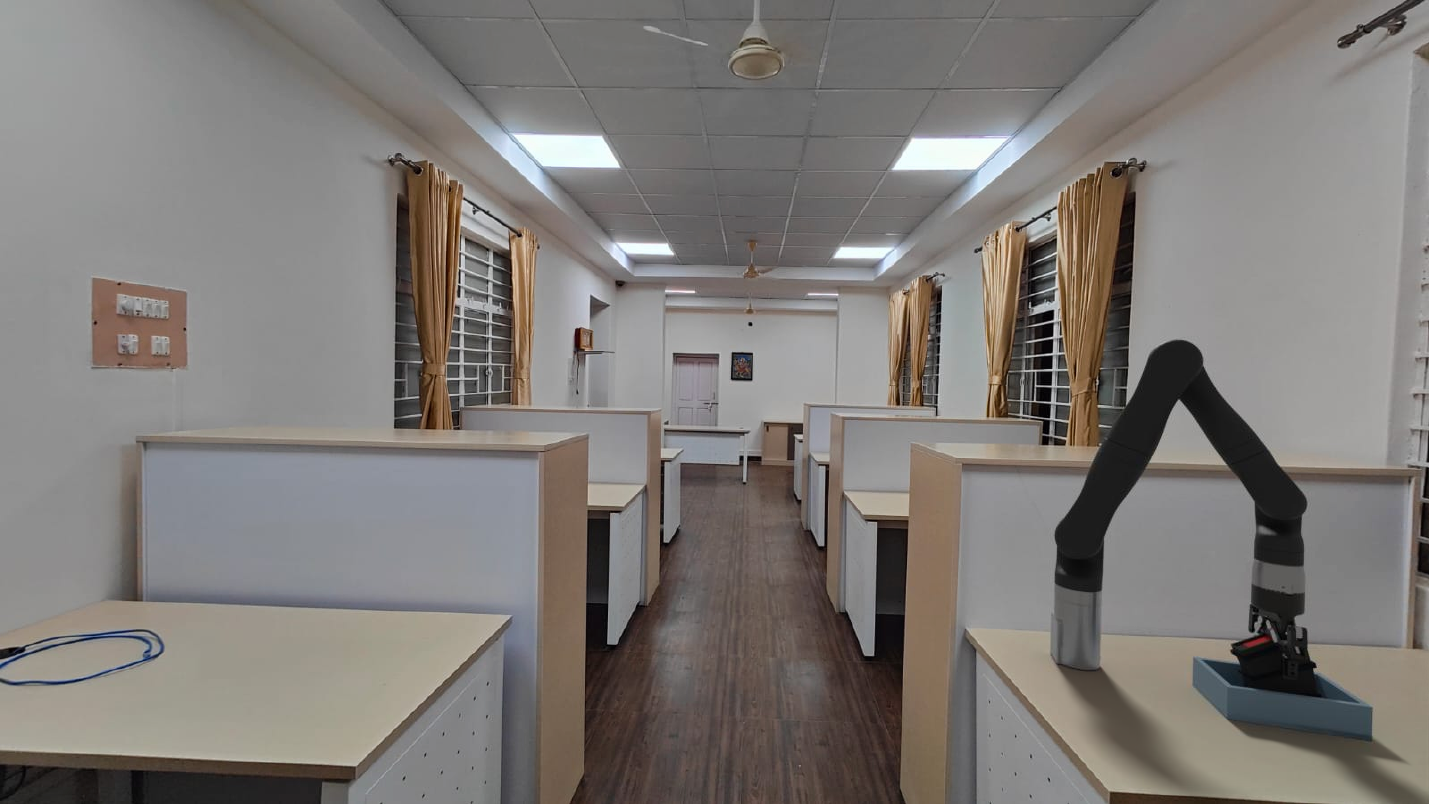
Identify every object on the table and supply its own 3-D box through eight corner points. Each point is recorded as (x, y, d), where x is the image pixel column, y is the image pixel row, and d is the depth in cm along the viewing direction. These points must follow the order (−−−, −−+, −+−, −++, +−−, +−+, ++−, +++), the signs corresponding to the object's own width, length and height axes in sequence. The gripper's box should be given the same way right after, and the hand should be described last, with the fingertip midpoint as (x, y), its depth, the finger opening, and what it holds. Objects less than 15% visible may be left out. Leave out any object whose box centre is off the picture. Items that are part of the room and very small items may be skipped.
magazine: (1340, 706, 111) (1302, 631, 112) (1266, 729, 113) (1230, 655, 114) (1323, 696, 115) (1286, 624, 116) (1252, 718, 117) (1217, 647, 118)
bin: (1226, 718, 111) (1227, 687, 111) (1192, 685, 124) (1193, 656, 124) (1371, 741, 104) (1372, 707, 104) (1319, 703, 118) (1319, 673, 118)
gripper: (1234, 572, 122) (1232, 651, 122) (1275, 594, 109) (1273, 682, 109) (1279, 577, 120) (1277, 657, 120) (1327, 599, 106) (1324, 689, 106)
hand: (1275, 668), depth 114 cm, fingers open, 8 cm apart
